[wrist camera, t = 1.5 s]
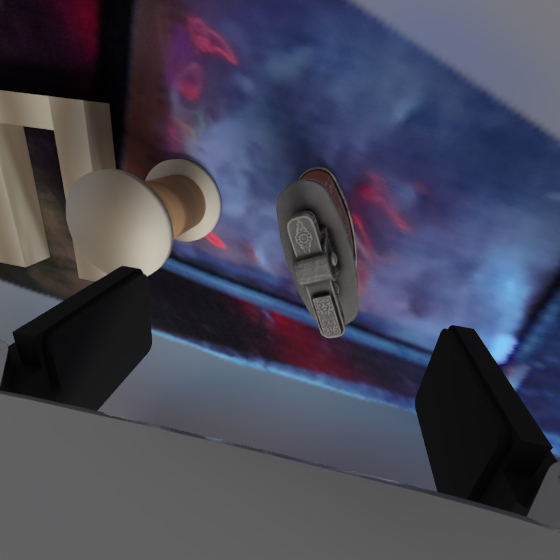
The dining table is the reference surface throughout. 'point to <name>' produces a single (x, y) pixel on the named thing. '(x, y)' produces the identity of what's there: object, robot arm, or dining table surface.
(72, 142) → the notched board
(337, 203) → the lighter
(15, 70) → the dining table surface
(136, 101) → the dining table surface
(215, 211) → the bobbin
